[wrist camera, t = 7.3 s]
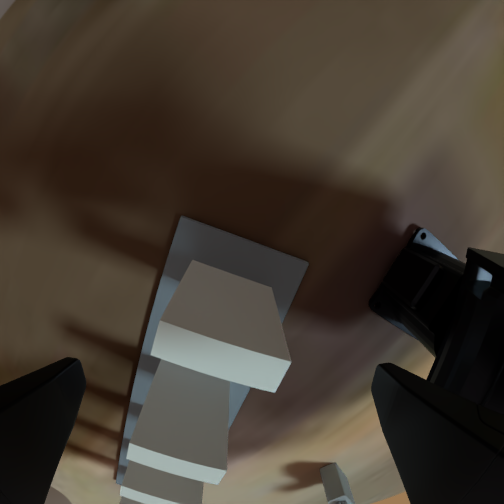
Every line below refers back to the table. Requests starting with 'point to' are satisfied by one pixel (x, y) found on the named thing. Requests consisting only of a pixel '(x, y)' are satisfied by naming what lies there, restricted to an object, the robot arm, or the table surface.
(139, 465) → the tile
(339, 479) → the lighter
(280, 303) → the runner
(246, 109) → the table surface
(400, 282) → the robot arm
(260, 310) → the tile
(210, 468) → the tile
